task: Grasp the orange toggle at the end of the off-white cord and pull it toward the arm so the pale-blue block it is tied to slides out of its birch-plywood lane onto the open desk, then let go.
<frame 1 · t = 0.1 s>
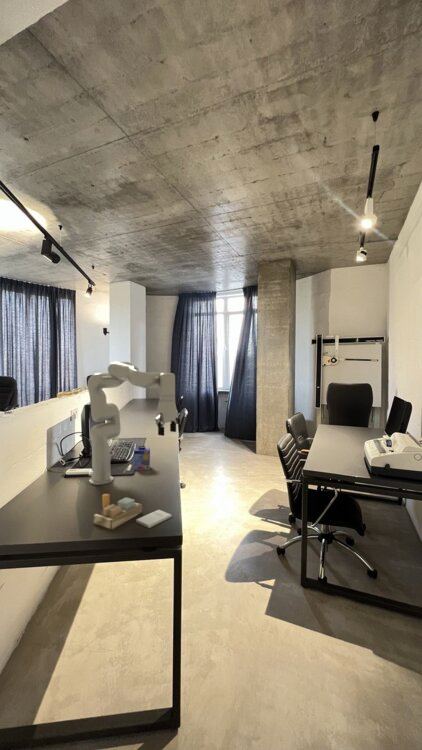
hand: (167, 433, 161), 31 cm above the table, fingers open, 9 cm apart
plain block: (112, 522, 136), resting in shelf lanes
ink cartridge box: (141, 468, 206), on the table
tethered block: (126, 514, 143), on the table
shelf lanes: (118, 517, 140), on the table
external hard drive: (153, 521, 138), on the table
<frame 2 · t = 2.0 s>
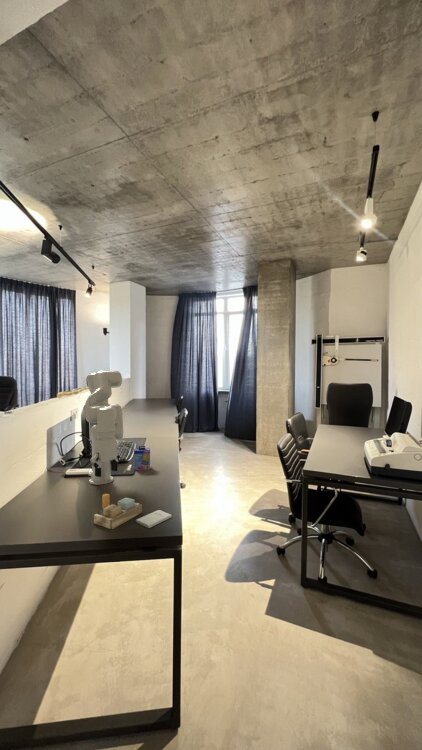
hand: (106, 473, 148), 16 cm above the table, fingers open, 9 cm apart
nothing on the table moved.
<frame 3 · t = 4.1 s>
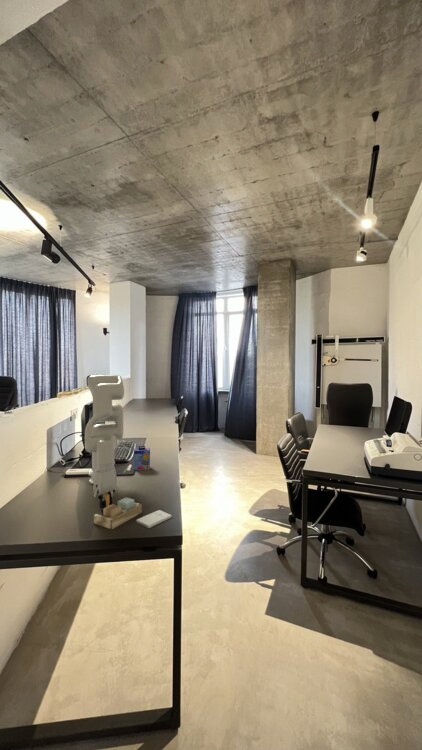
hand: (105, 506, 149), 1 cm above the table, fingers closed on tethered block, 3 cm apart
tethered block: (126, 514, 143), on the table, touching gripper
everything else where it was.
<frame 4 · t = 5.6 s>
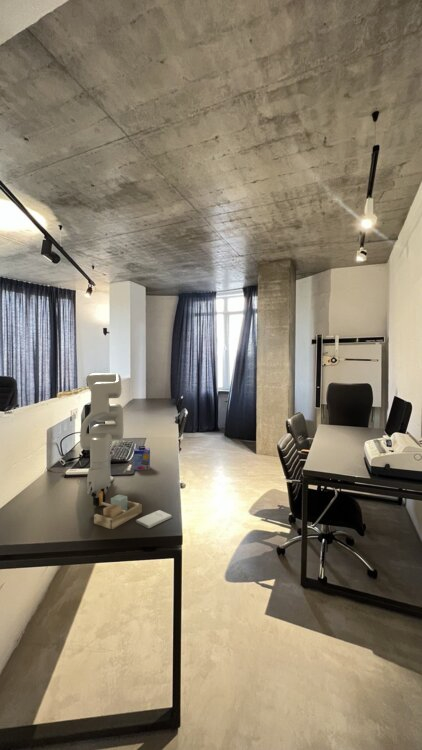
hand: (99, 503, 151), 1 cm above the table, fingers closed on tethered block, 3 cm apart
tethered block: (119, 510, 145), on the table, touching gripper
everything else where it was.
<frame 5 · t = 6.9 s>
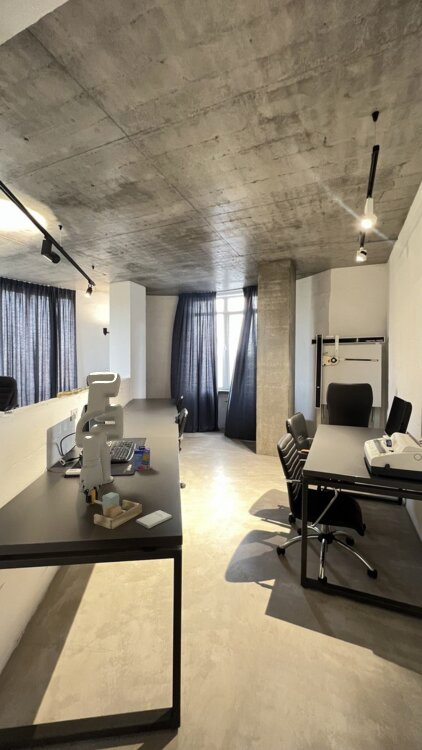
hand: (91, 501, 153), 1 cm above the table, fingers closed on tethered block, 3 cm apart
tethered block: (110, 508, 148), point 1 cm above the table, touching gripper
everything else where it was.
when the fingers open (1 cm above the table, at t = 7.4 s): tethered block stays where it is, on the table.
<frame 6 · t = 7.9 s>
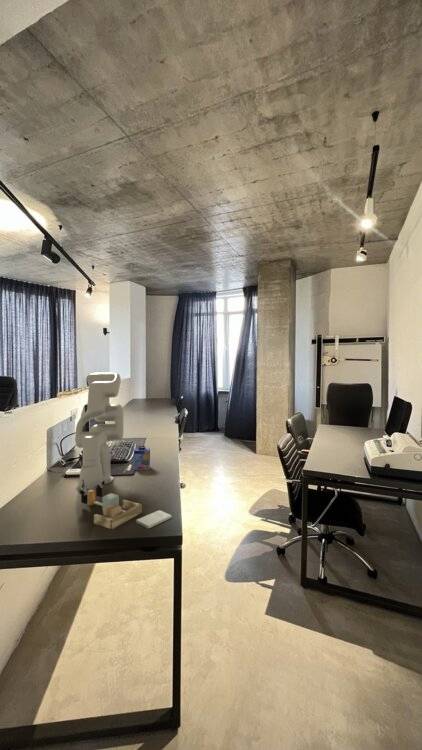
hand: (91, 499, 153), 2 cm above the table, fingers open, 8 cm apart
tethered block: (110, 509, 148), on the table
everything else where it was.
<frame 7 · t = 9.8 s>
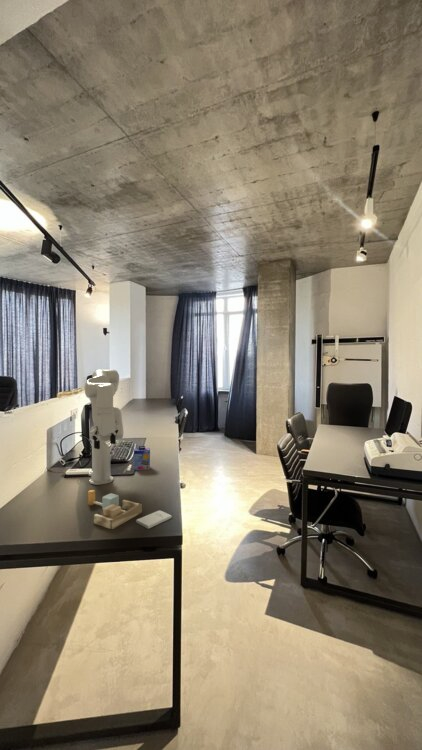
hand: (105, 446, 158), 26 cm above the table, fingers open, 9 cm apart
nothing on the table moved.
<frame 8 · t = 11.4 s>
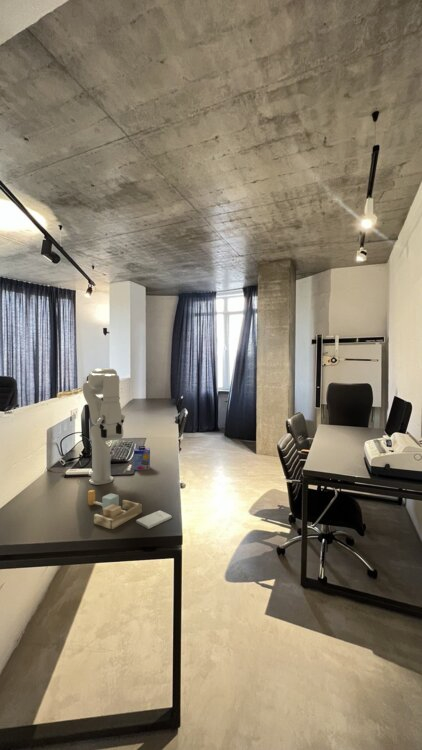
hand: (111, 435, 160), 30 cm above the table, fingers open, 9 cm apart
nothing on the table moved.
at the end: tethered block inside the target area (2.6 cm from its centre), on the table; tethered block moved 9.2 cm from its start; the gripper is holding nothing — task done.
